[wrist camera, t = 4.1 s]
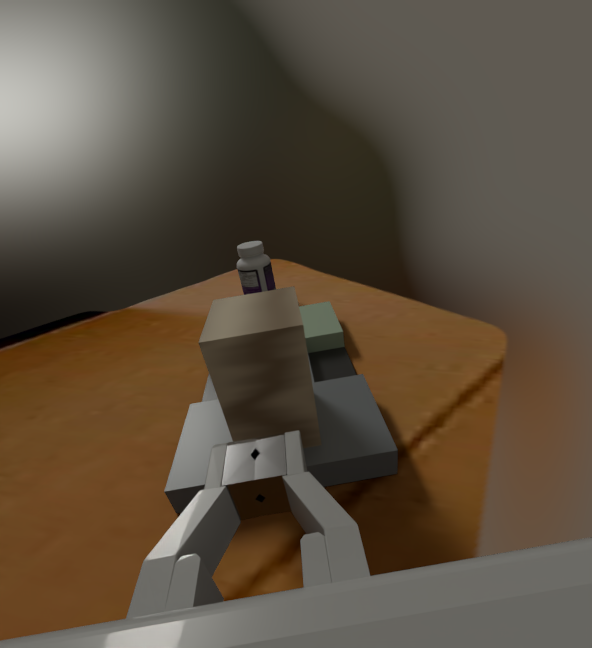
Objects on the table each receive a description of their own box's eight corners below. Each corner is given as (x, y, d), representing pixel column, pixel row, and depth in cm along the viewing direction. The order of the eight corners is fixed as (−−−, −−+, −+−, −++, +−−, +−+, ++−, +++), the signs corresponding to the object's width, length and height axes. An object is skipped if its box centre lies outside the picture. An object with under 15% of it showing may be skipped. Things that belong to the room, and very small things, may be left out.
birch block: (239, 459, 22) (198, 342, 18) (243, 402, 28) (213, 300, 23) (321, 445, 22) (303, 324, 18) (310, 390, 28) (294, 286, 23)
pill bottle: (269, 291, 56) (258, 237, 52) (283, 300, 52) (272, 242, 47) (241, 301, 54) (227, 246, 50) (253, 311, 50) (239, 251, 45)
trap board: (176, 513, 22) (164, 491, 21) (219, 336, 44) (215, 321, 43) (397, 473, 22) (397, 450, 21) (331, 317, 44) (329, 301, 43)
